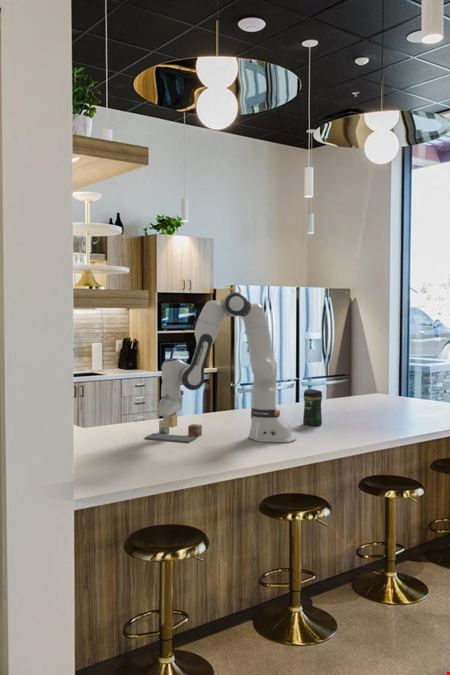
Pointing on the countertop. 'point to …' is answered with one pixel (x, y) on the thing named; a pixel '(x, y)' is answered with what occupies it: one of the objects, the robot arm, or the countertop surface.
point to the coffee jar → (312, 407)
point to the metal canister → (163, 428)
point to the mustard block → (171, 421)
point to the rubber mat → (171, 438)
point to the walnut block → (194, 430)
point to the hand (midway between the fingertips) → (170, 422)
